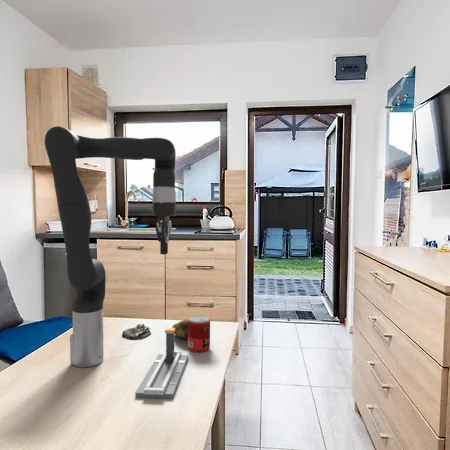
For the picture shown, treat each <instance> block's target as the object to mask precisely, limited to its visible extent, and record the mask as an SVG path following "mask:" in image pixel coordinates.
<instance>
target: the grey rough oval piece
mask: <svg viewBox="0 0 450 450" xmlns="http://www.w3.org/2000/svg"><path fill="white" fill-rule="evenodd" d="M135 326H136V327H131V328H126V329H125V330H122V334H121V335H122V337H123V338H124V339H126V340H131V341H137V340H139V341H141V340H143V339H147V338H148V337H149V336H151V335H152V332H151V331H150V330H151V328H150V327H149V326H147V325H145V324H144V323H142V324H140V323H138V324H137V325H135Z"/></svg>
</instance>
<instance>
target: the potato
mask: <svg viewBox="0 0 450 450" xmlns="http://www.w3.org/2000/svg"><path fill="white" fill-rule="evenodd" d="M171 328H175V332H174V336H175V335H176V336H178V337H179V338H180V339H188V319H183V320H180V321H178V322H177V323H174V324H173V325H172V327H171Z"/></svg>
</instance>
